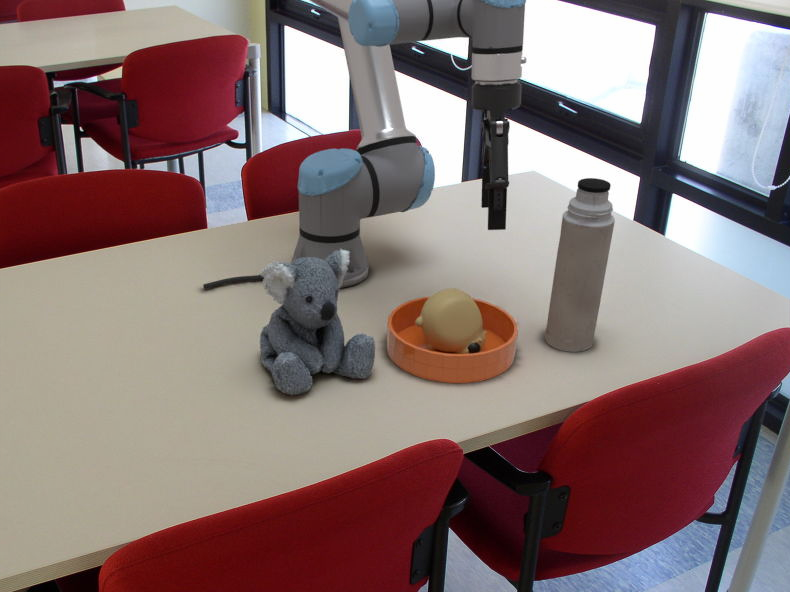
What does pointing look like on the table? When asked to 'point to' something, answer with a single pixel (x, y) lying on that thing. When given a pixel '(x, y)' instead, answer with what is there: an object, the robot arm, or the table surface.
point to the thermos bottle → (580, 267)
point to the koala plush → (310, 324)
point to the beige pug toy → (452, 323)
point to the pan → (448, 366)
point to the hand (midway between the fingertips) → (493, 217)
